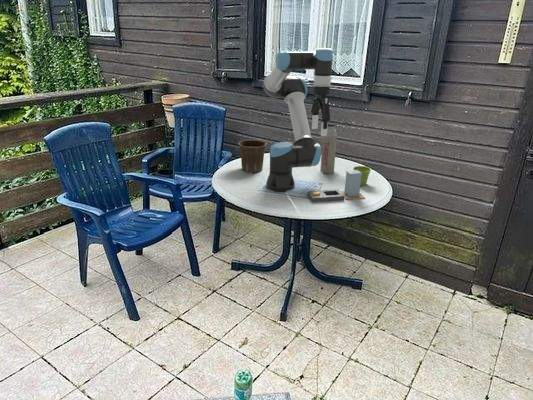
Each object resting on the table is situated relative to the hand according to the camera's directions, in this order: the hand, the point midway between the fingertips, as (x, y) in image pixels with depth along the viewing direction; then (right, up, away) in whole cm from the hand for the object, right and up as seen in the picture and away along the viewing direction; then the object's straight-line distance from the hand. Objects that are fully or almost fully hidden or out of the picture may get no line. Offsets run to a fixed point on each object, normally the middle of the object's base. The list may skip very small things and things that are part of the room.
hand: (319, 132), depth 185 cm
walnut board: (+18, -30, +13) cm, 37 cm away
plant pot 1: (-33, -14, +50) cm, 61 cm away
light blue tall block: (+18, -29, +13) cm, 36 cm away
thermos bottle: (+11, -15, +49) cm, 52 cm away
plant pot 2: (+27, -23, +30) cm, 46 cm away
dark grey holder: (+4, -31, +10) cm, 33 cm away
